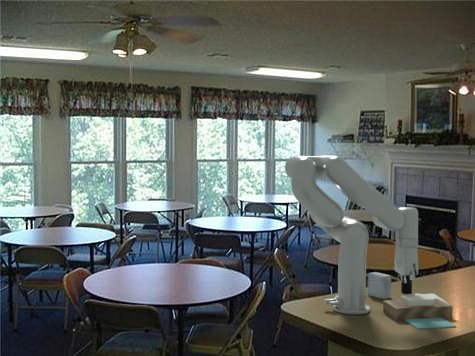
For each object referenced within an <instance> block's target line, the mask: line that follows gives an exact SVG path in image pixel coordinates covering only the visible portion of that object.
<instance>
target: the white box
mask: <svg viewBox="0 0 475 356" xmlns="http://www.w3.org/2000/svg"><path fill="white" fill-rule="evenodd" d="M400 300H401V302H403V303H404V304H406V305H408V306H428V305H434V299H433V298H431V297H429V296H427V295H412V294H407V295H400Z"/></svg>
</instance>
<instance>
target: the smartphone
mask: <svg viewBox="0 0 475 356" xmlns="http://www.w3.org/2000/svg"><path fill="white" fill-rule="evenodd" d="M413 295H427V296H429V297H431V298H433V299H437V298H438V299H440V300H441V301H443V302H445V303H447V304H449V305H451V304H450V303H448V301H445V300H444V299H443V298H442V297H441V296H438V295H437V294H436V293H429V292H428V293H413Z"/></svg>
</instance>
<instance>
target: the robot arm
mask: <svg viewBox="0 0 475 356" xmlns="http://www.w3.org/2000/svg"><path fill="white" fill-rule="evenodd" d="M284 171H285V173H286V175H287V176H288V177H289V178H290V184H291V190H292V191H291V192H292V194H293V196H294V198H295V199H296V200H297V201H298V202H299V204H300V205H301V206H302V207H304V208H305V209H306V211H308V212H309V215H310V218H311V219H312V221H313V222H314V223H315V224H316V225H317V226H319V227H320V229H322V230H323V231H324V232H325V233H326V234H327V235H329V236H330V237H332V238H333V239H334V240H335V241H337V242H338V243H340V245H339V250H338V259H337V263H338V264H337V265H338V267H337V268H338V269H337V270H338V272H337V277H338V278H337V295H335V297H333V298H324V300H323V303H324V305H326V306H327V305H330V306H333V307H332V308H333V310H334V311H335V312H337V313H339V314H340V313H341V314H346V315H364V314H368V313H369V312H370V311H371V307H370V305H367V304H366V302H367V301H366V300H367V299H366V298H367V297H366V296H367V294H366V292H367V289H366V286H367V281H366V280H367V252H368V245H369V239H370V238H369V236H370V235H369V230H368V228H367V226H366V225H365V224H364V223H363V222H361V221H359V220H357V219H354V218H350V217H349V216H348V215H346V213H345V211H344V210H343V208H342V206H341V204H339V203H338V202H337V201H336V200H334V199H333V198H332V197H330V196H329V194H327V193H326V192H325V191H324V190H323V189H322V188H321V187H320V186H319V185H318V183H317V182H316V180H328V181H330V183H331V184H333V186H335V187H336V188H337V189H338V190H339V191H340V192H341V193H342V194H343V195H344V196H345V197H346V198H347V199H348V200H350V202H352V203H353V204H355V205H357V206H359V207H361V208H363V209H365V210H366V211H368V213H370V214H371V220H372V222H373V224H374V225H375V226H376V227H379V228H381V229H385V230H387V231H391V232H395V248H394V249H395V250H394V258H393V259H394V263H393V270H394V271H395V272H396V273H398V274H399V276H400V283H401V287H400V290H401V292H400V293H401V294H403V295H412V293H413V281H415V280H416V276H417V275H418V274H419V253H418V248H419V211H418V209H417V208H416V207H412V206H400V207H397V206H396V205H395V204H394V202H392V201H391V200H390V199H389V198H388V197H387V196H385V195H384V194H383V193H381V192H380V191H379V190H377V189H376V188H375V187H374V186H373V185H371V183H368V181H367V180H366V179H364V178H363V177H362V176H361V174H359V173H358V172H357V171H356V170H355V169H354V168H353V167H352V166H351V165H350V164H349V163H348V162H347V161H345V160H344V159H343V158H342V157H340V156H338V155H319V156H318V155H317V156H315V155H314V156H311V155H306V156H305V155H296V156H295V155H294V156H292V157H289V158H288V160H287V161H286V162H285V164H284Z"/></svg>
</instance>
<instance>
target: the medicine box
mask: <svg viewBox="0 0 475 356" xmlns="http://www.w3.org/2000/svg"><path fill="white" fill-rule="evenodd" d="M391 289H392V275H390V274H386V273H381V272H377V271H374V272H369V273H367V296H370V297H373V298H379V299H381V300H387V299H391V298H392V290H391Z"/></svg>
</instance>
